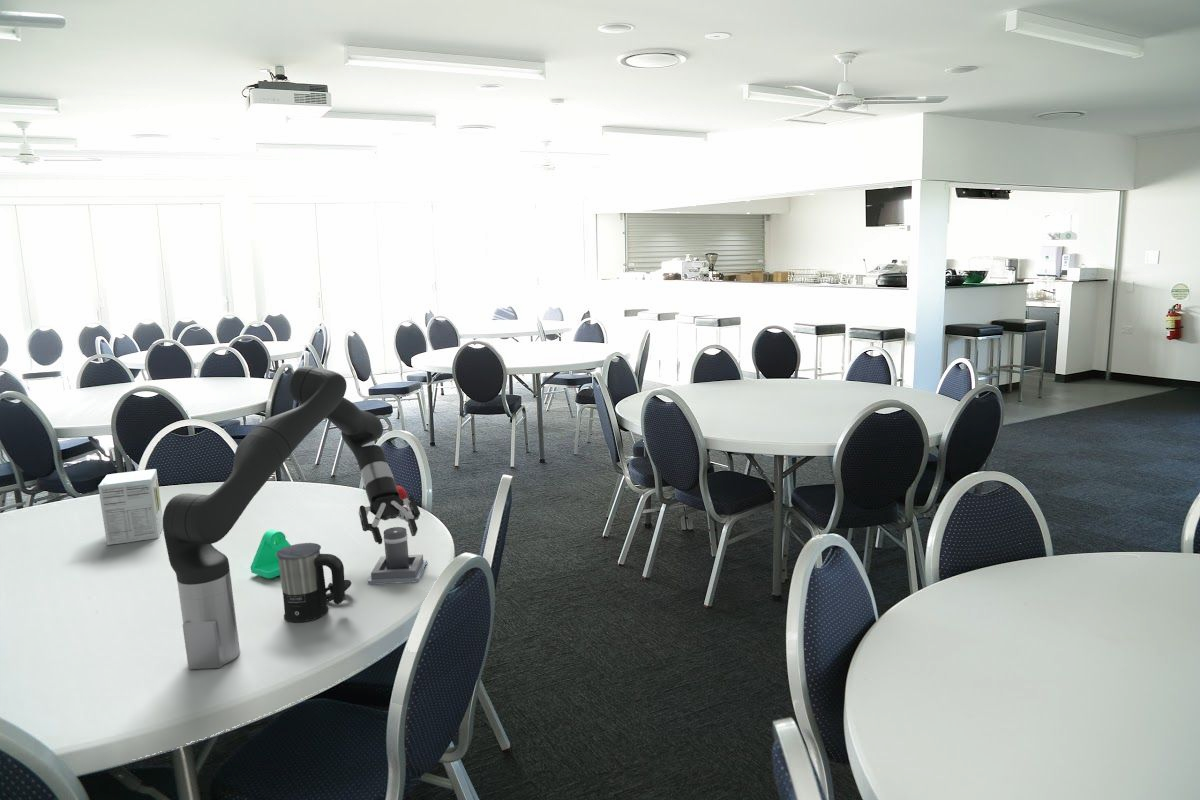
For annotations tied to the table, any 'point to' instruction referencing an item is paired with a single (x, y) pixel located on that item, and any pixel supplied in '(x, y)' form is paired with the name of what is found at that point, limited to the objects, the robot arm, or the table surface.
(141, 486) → the supplement box
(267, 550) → the camera mount
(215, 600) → the robot arm
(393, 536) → the grey canister
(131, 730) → the table surface
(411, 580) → the collar plate
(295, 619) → the milk frother
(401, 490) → the tomato
